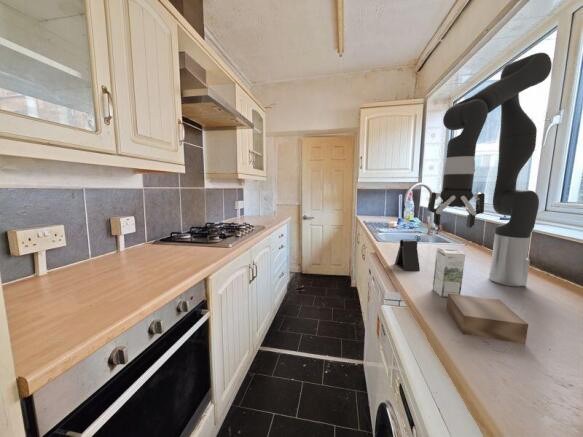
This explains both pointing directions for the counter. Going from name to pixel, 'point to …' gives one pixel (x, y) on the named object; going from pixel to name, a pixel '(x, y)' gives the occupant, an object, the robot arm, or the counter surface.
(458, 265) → the syrup box
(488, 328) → the walnut block
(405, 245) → the phone stand
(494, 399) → the counter surface
